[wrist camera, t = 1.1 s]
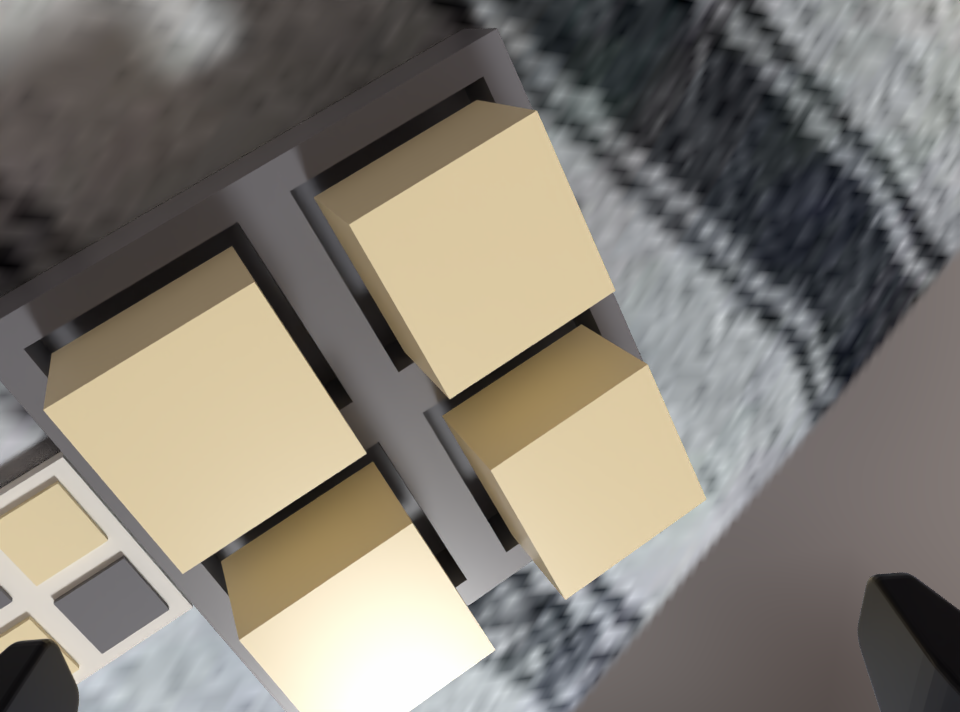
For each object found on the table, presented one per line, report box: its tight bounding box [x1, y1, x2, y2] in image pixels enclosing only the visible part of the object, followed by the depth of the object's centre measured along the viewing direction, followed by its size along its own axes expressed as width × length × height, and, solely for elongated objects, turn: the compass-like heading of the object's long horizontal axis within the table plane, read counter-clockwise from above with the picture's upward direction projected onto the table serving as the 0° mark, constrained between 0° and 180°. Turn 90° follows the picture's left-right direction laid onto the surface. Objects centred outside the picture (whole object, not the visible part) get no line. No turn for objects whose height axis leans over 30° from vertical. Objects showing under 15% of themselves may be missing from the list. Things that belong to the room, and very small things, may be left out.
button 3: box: [314, 100, 615, 399], centre depth 18 cm, size 4×4×3 cm
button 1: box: [442, 324, 706, 600], centre depth 21 cm, size 4×4×3 cm
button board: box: [0, 28, 643, 712], centre depth 21 cm, size 12×12×2 cm
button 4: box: [43, 246, 367, 574], centre depth 17 cm, size 4×4×3 cm
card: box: [0, 452, 193, 684], centre depth 21 cm, size 5×5×1 cm
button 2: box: [221, 462, 495, 712], centre depth 20 cm, size 4×4×3 cm
